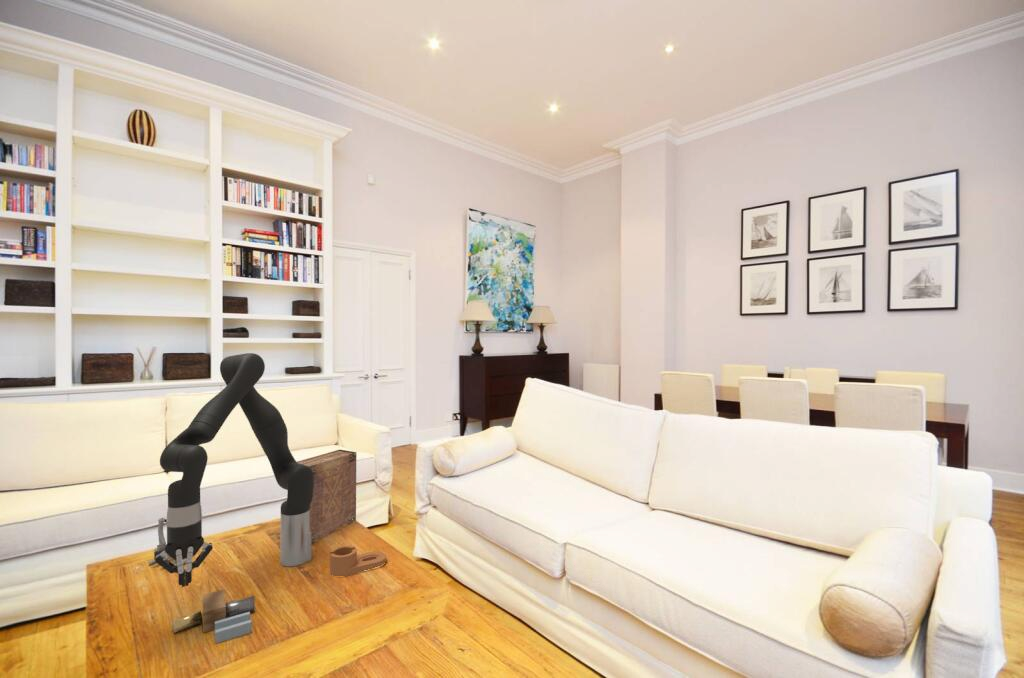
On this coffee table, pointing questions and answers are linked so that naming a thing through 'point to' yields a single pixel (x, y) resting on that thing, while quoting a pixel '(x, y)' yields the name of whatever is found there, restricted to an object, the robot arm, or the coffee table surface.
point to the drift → (187, 621)
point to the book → (332, 492)
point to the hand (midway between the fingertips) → (185, 584)
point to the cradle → (232, 627)
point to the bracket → (353, 560)
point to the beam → (213, 609)
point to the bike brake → (162, 543)
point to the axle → (240, 606)
